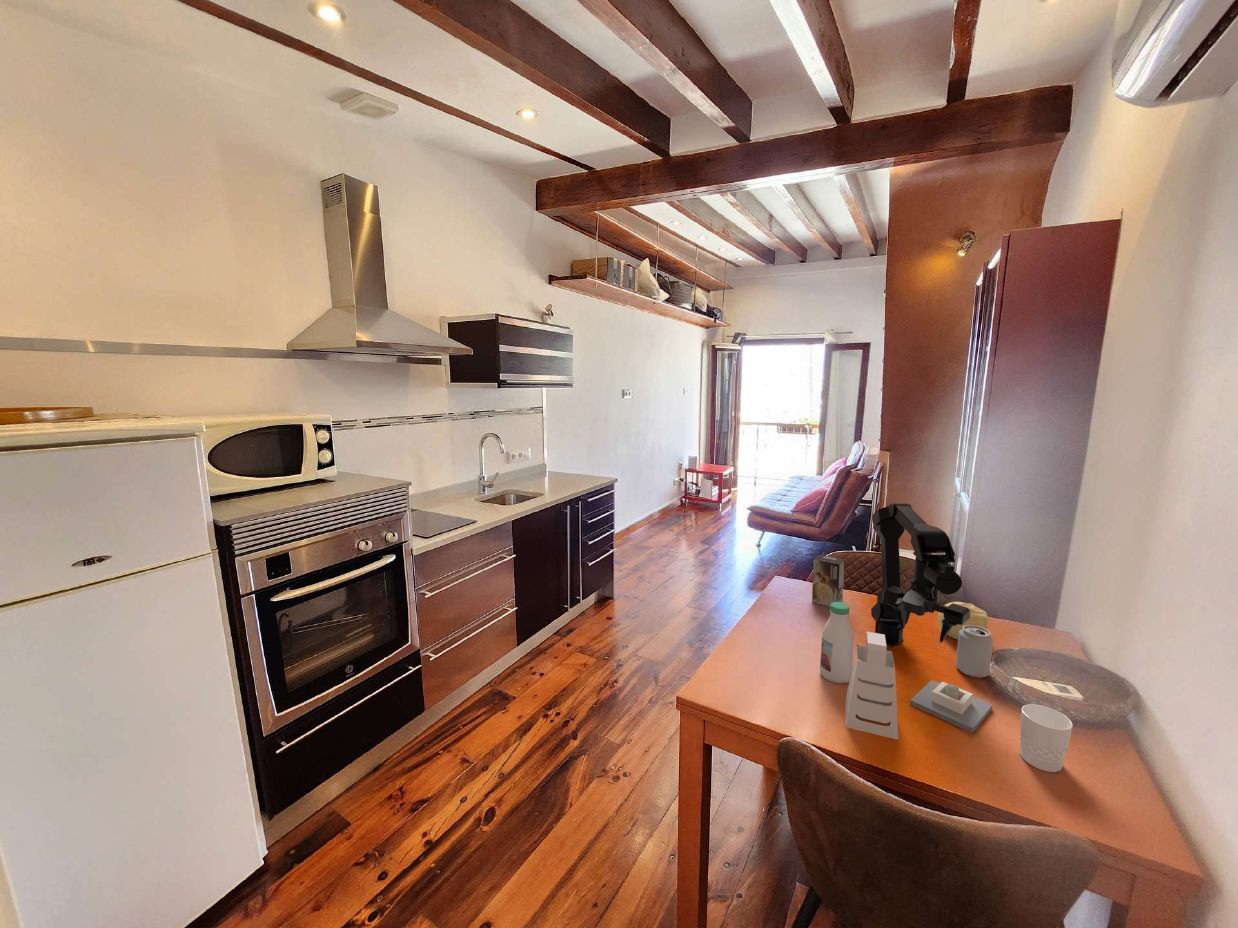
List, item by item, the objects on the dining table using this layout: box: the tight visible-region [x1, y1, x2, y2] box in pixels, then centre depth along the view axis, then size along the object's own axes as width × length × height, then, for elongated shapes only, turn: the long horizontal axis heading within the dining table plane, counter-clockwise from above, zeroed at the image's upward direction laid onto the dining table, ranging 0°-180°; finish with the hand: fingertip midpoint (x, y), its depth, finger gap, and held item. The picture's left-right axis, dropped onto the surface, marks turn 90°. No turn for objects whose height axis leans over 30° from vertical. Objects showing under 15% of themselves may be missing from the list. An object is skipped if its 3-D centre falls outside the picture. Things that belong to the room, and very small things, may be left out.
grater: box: [845, 631, 899, 740], centre depth 114 cm, size 10×10×20 cm
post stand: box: [909, 679, 994, 734], centre depth 119 cm, size 13×13×5 cm
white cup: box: [1019, 703, 1073, 773], centre depth 102 cm, size 8×8×10 cm
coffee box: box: [811, 554, 846, 608], centre depth 175 cm, size 9×6×16 cm
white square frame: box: [931, 681, 974, 714], centre depth 119 cm, size 6×6×2 cm
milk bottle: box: [819, 602, 855, 684], centre depth 131 cm, size 8×8×20 cm
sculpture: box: [937, 601, 990, 641], centre depth 152 cm, size 12×12×11 cm
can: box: [955, 625, 994, 679], centre depth 133 cm, size 8×8×12 cm
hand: (921, 634), depth 130 cm, fingers open, 9 cm apart
